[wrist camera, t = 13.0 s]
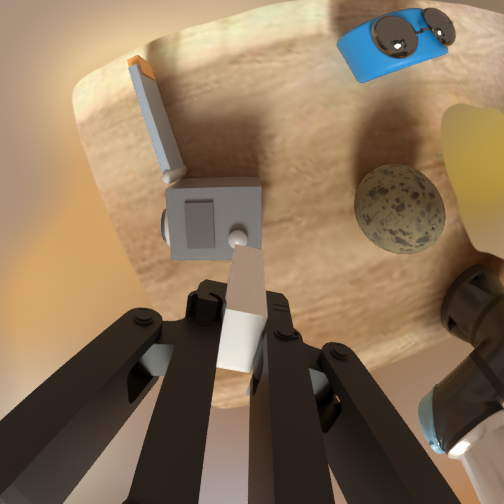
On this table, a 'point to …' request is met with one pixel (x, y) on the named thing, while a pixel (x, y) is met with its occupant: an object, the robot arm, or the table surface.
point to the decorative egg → (399, 209)
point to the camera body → (212, 217)
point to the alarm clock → (396, 42)
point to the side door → (156, 119)
